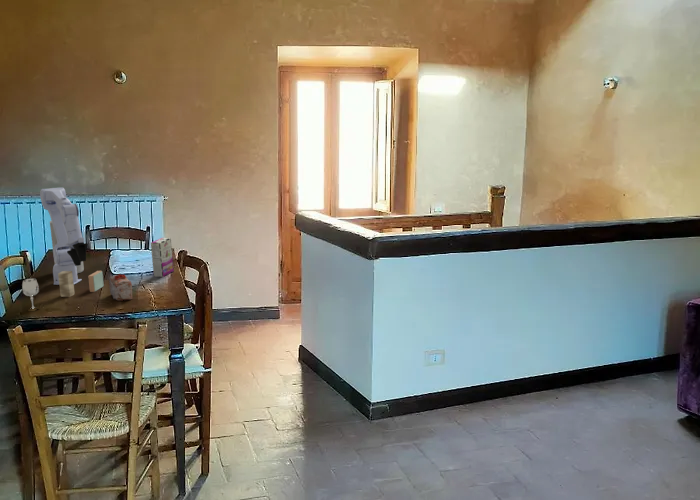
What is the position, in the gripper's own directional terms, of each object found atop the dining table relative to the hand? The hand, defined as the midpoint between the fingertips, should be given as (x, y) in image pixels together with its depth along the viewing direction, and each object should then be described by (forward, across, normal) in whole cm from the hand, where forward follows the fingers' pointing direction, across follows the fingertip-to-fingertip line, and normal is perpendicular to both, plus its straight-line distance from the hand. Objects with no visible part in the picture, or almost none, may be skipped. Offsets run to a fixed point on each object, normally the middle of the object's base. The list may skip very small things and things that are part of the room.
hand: (80, 263), depth 277 cm
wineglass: (+17, +4, -23) cm, 28 cm away
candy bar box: (+9, -11, +39) cm, 42 cm away
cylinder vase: (-5, -44, +8) cm, 45 cm away
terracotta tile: (+11, -8, +7) cm, 15 cm away
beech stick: (+12, -7, -6) cm, 14 cm away
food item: (+19, +11, +10) cm, 24 cm away
